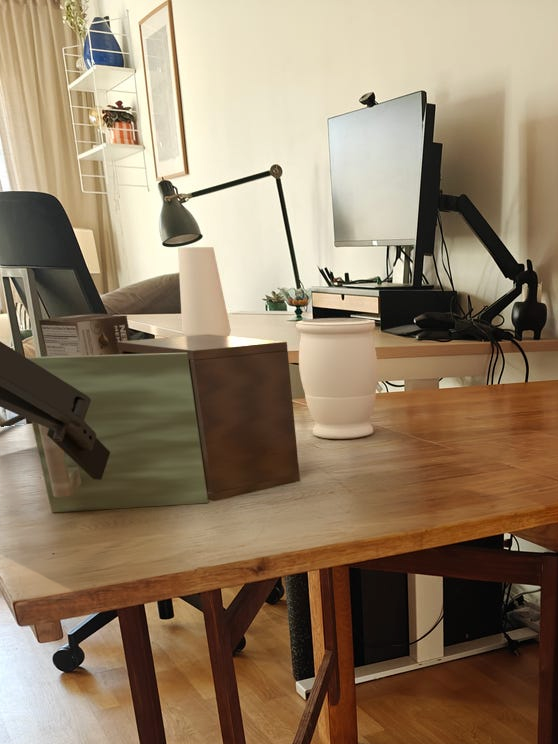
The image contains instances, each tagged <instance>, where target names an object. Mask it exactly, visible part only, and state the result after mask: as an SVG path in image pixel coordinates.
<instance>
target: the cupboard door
mask: <svg viewBox="0 0 558 744" xmlns="http://www.w3.org/2000/svg"><path fill="white" fill-rule="evenodd" d="M25 357H26V358H28V359H29V360H31V361H32V362H34V363H36V364H37V365H39V366H40V367H42V368H44V369H45V370H47V371H48V372H50V373H52V374H53V375H55V376H56V377H58V378H60V379H61V380H63V381H64V382H66V383H68V384H69V385H71V386H72V387H74V388H76V389H77V390H79V391H80V392H82V393H84V394H85V395H87V396H88V397H89V398H90V399H91V402H90V405H89V407H88V410H87V413H86V416H85V419H84V421H85V422H86V423H87V424H88V426H90V428H91V429H92V430H93V431H94V432H95V433H96V438H97V439H98V440H99V441H100V442H101V443H102V444H103V445H104V446H105V447H106V448H107V449H108V450H109V451H110V455H109V458H108V461H107V464H106V467H105V470H104V473H103V477H102V480H97V479H93V478H92V477H90V476H89V475H88V474H87V473H86V472H85V471H84V470H83V469H82V468H81V467H80V466H79V465H78V464H77V463H76V462H75V461H74V460H73V459H72V458H71V457H70V456H68V455H67V454H66V453H65V452H64V451H63V450H62V449H61V448H60V447H59V446H58V445H57V444H56V443H55V442H54V441H53V440H52V439H51V438H50V437H49V436H47V433H48V430H49V428H46V427H44V426H42V425H40V424H38V423H35V422H33V421H31V424H32V428H33V434H34V438H35V443H36V448H37V451H38V457H39V461H40V465H41V470H42V475H43V480H44V485H45V489H46V493H47V497H48V502H49V507H50V511H51V513H52V514H53V513H54V514H55V513H68V512H86V511H87V512H88V511H102V510H115V509H116V510H118V509H132V508H133V509H134V508H135V509H136V508H148V507H150V508H151V507H165V506H166V507H167V506H180V505H181V506H182V505H196V504H197V505H198V504H208V503H209V500H208V494H207V487H206V480H205V472H204V465H203V458H202V451H201V444H200V437H199V430H198V422H197V415H196V408H195V401H194V394H193V387H192V380H191V372H190V365H189V358H188V353H153V354H120V355H86V356H52V357H46V356H25Z"/></svg>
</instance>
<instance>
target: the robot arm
mask: <svg viewBox="0 0 558 744" xmlns="http://www.w3.org/2000/svg"><path fill="white" fill-rule="evenodd" d="M26 357H27V356H24V355H23V354H21V353H19V352H18V351H16V350H15V349H13V348H12V347H10V346H8V345H7V344H6V343H3V342H2V341H0V408H2V409H4V410H6V411H9V412H10V413H13V414H15V416H13V417H11V418H9V419H8V420H6V421H3V422H2V423H0V426H1V427H4V426H10V427H11V426H14V425H15V424H17V423H19V422H22V421H24V420H29V421H31V422H32V421H33V422H35V423H38V424H40V425H42V426H44V427H46V428H49V430H48V433H47V436H49V437H50V438H51V439H52V440H53V441H54V442H55V443H56V444H57V445H58V446H59V447H60V448H61V449H62V450H63V451H64V452H65V453H66V454H67V455H68V456H70V457H71V458H72V459H73V460H74V461H75V462H76V463H77V464H78V465H79V466H80V467H81V468H82V469H83V470H84V471H85V472H86V473H87V474H88V475H89V476H90V477H92V478H93V479H97V480H102V477H103V473H104V470H105V467H106V464H107V461H108V458H109V455H110V451H109V450H108V449H107V448H106V447H105V446H104V445H103V444H102V443H101V442H100V441H99V440H98V439H97V438H96V433H95V432H94V431H93V430H92V429H91V428H90V426H88V424H87V423H86V422H85V421H84V419H85V416H86V413H87V410H88V407H89V405H90V402H91V399H90V398H89V397H88V396H87V395H85V394H84V393H82V392H80V391H79V390H77V389H76V388H74V387H72V386H71V385H69V384H68V383H66V382H64V381H63V380H61V379H60V378H58V377H56V376H55V375H53V374H52V373H50V372H48V371H47V370H45V369H44V368H42V367H40V366H39V365H37V364H36V363H34V362H32V361H31V360H29V359H28V358H26Z"/></svg>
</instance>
